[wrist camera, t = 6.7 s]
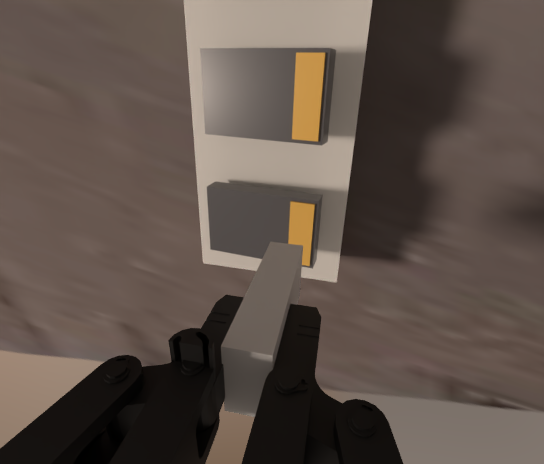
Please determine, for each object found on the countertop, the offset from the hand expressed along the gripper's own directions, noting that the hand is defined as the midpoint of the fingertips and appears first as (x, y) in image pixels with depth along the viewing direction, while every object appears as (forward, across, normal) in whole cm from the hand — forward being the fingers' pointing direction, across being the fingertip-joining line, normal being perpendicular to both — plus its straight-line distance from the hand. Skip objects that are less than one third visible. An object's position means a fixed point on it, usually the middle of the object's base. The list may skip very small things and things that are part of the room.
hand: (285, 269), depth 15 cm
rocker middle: (+6, -2, +7) cm, 9 cm away
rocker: (+6, -2, 0) cm, 6 cm away
